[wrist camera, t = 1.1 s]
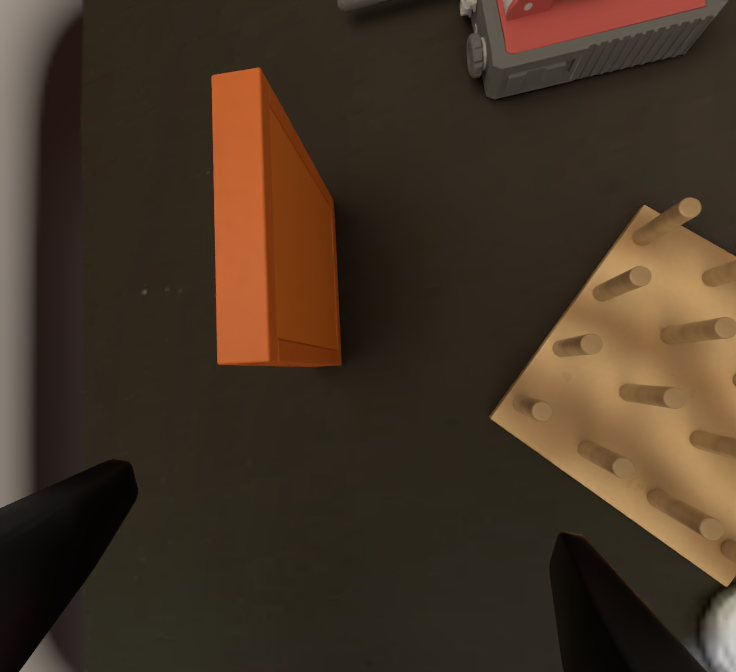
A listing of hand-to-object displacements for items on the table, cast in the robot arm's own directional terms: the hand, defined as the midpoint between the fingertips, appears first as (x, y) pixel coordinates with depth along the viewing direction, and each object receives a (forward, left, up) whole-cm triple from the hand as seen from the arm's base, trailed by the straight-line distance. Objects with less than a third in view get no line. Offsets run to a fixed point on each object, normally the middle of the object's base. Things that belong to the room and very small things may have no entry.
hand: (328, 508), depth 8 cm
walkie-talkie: (+24, +2, -15) cm, 28 cm away
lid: (+6, +7, -15) cm, 17 cm away
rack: (+7, -13, -15) cm, 21 cm away
